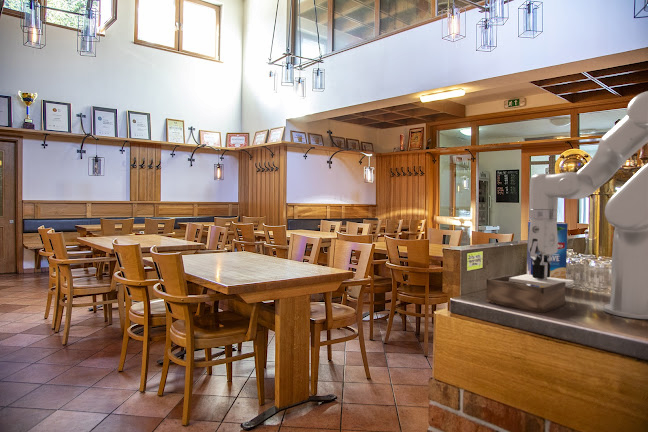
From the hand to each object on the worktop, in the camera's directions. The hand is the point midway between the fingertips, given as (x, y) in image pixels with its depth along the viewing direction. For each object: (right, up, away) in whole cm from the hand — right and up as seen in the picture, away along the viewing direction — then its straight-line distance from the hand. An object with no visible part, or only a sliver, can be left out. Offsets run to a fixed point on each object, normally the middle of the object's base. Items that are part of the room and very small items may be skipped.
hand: (541, 276), depth 135 cm
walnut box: (-8, -7, -6) cm, 12 cm away
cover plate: (0, -2, 0) cm, 2 cm away
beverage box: (+11, -6, +21) cm, 25 cm away
